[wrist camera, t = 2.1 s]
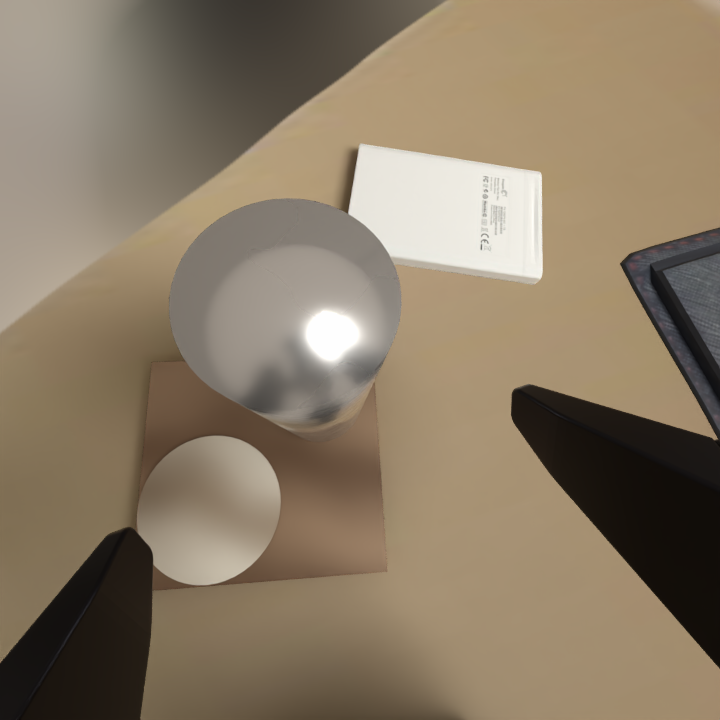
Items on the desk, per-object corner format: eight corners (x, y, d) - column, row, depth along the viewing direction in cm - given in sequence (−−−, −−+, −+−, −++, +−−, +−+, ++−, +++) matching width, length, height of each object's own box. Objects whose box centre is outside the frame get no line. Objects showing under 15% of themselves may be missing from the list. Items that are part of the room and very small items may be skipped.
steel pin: (363, 439, 19) (411, 404, 6) (278, 444, 19) (158, 417, 6) (358, 359, 20) (392, 197, 8) (279, 362, 20) (178, 199, 7)
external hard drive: (358, 159, 26) (530, 185, 26) (341, 261, 23) (530, 288, 24) (359, 140, 24) (543, 167, 24) (341, 247, 22) (544, 276, 22)
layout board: (385, 566, 18) (387, 572, 17) (138, 586, 17) (127, 593, 16) (371, 357, 21) (372, 352, 20) (158, 365, 20) (149, 361, 19)
